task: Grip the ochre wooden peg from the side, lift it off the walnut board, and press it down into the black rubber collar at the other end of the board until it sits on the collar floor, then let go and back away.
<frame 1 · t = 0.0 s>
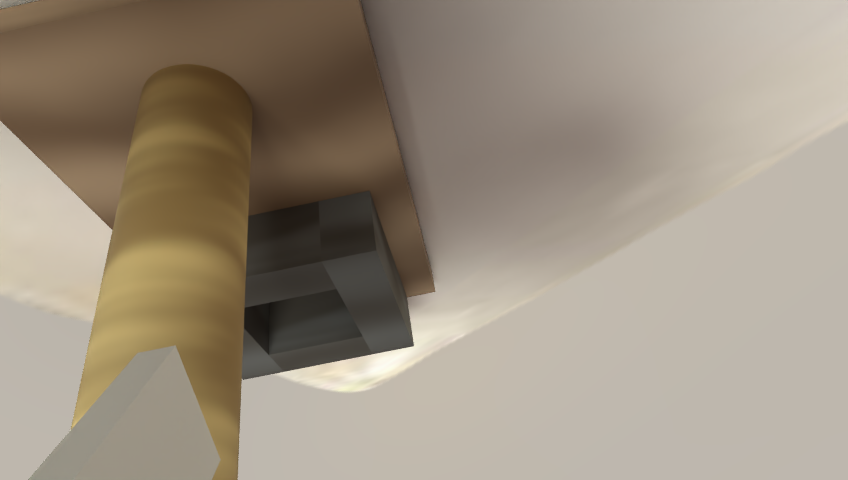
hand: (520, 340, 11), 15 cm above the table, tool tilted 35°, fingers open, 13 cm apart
board: (262, 185, 28), on the table
peg: (198, 107, 22), point 1 cm above the table, touching board
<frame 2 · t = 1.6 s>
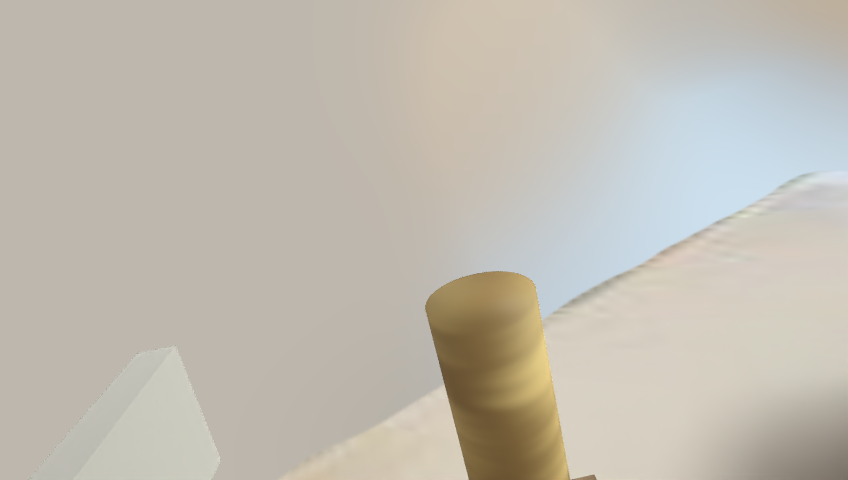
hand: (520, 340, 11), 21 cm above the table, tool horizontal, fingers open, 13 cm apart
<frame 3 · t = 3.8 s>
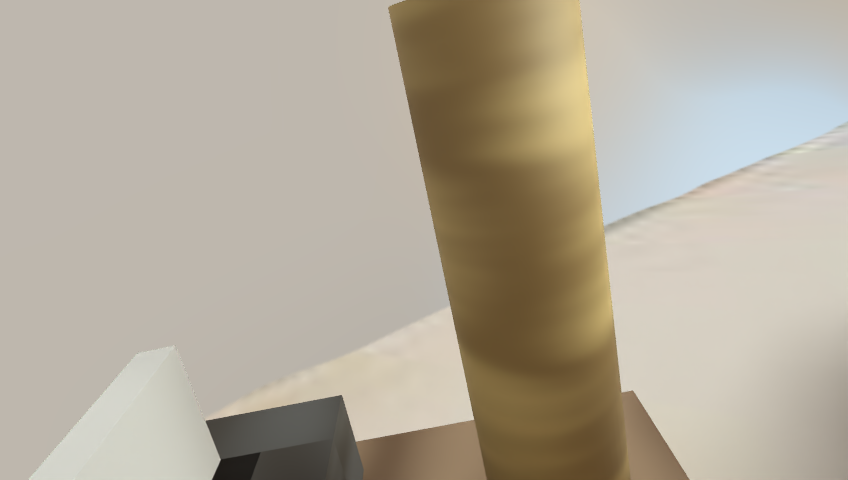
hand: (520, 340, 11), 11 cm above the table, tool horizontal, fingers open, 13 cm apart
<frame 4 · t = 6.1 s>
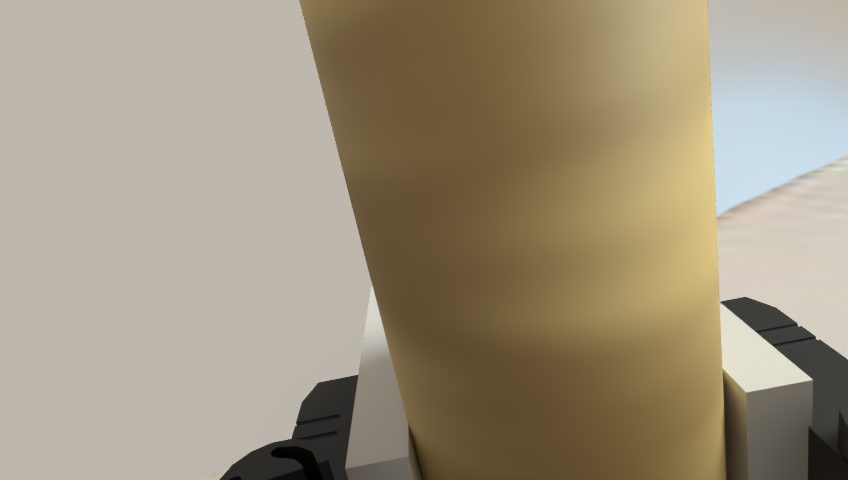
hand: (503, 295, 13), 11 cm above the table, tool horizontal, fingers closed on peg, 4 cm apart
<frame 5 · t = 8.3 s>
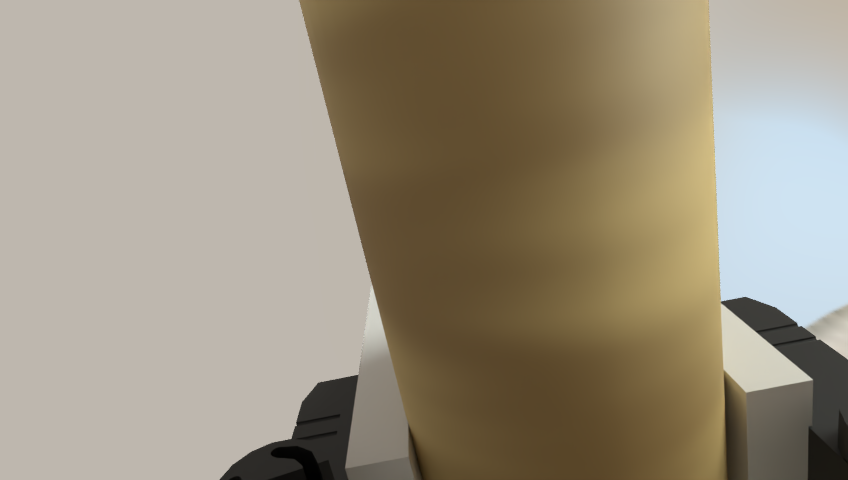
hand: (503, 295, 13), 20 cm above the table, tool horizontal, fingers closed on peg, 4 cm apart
when the fingers open (11 cm above the table, at t = 10.9 s): peg stays where it is, resting on board.
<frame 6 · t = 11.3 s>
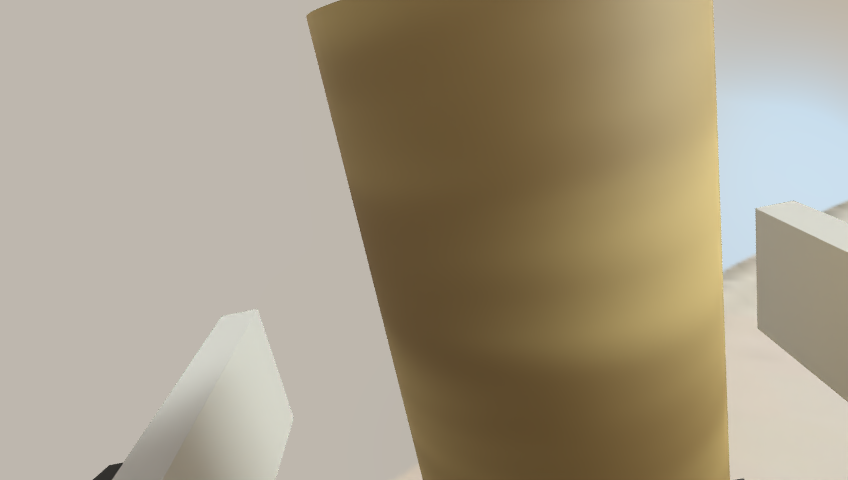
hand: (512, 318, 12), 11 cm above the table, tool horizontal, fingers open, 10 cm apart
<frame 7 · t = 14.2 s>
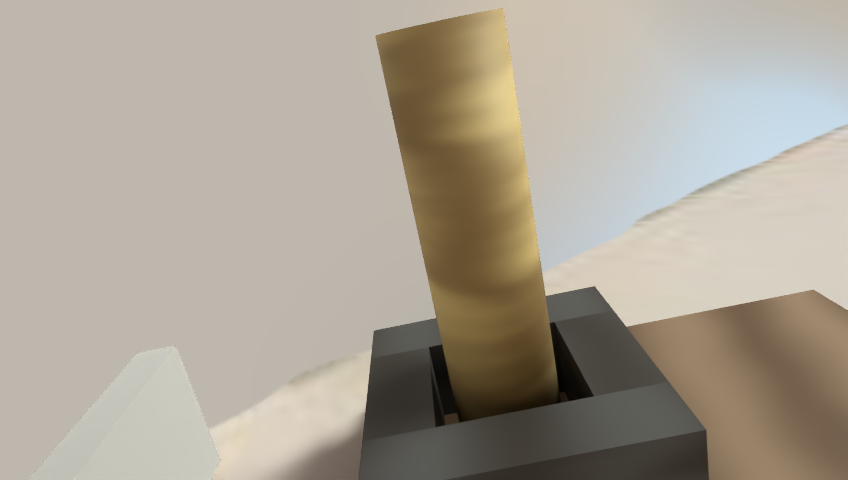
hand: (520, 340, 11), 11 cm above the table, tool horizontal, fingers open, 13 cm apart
board: (655, 448, 23), on the table
peg: (515, 444, 23), point 2 cm above the table, touching board
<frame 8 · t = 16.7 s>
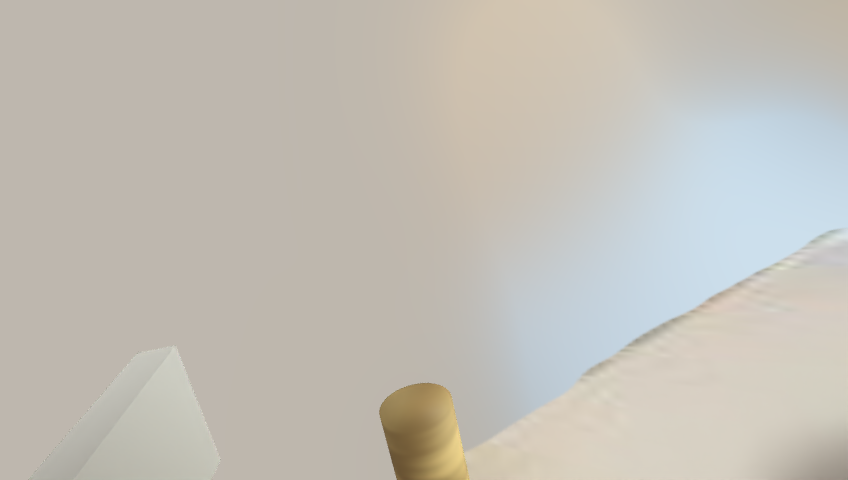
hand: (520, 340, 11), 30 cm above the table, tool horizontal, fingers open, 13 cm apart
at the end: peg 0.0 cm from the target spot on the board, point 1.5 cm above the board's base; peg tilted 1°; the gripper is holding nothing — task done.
